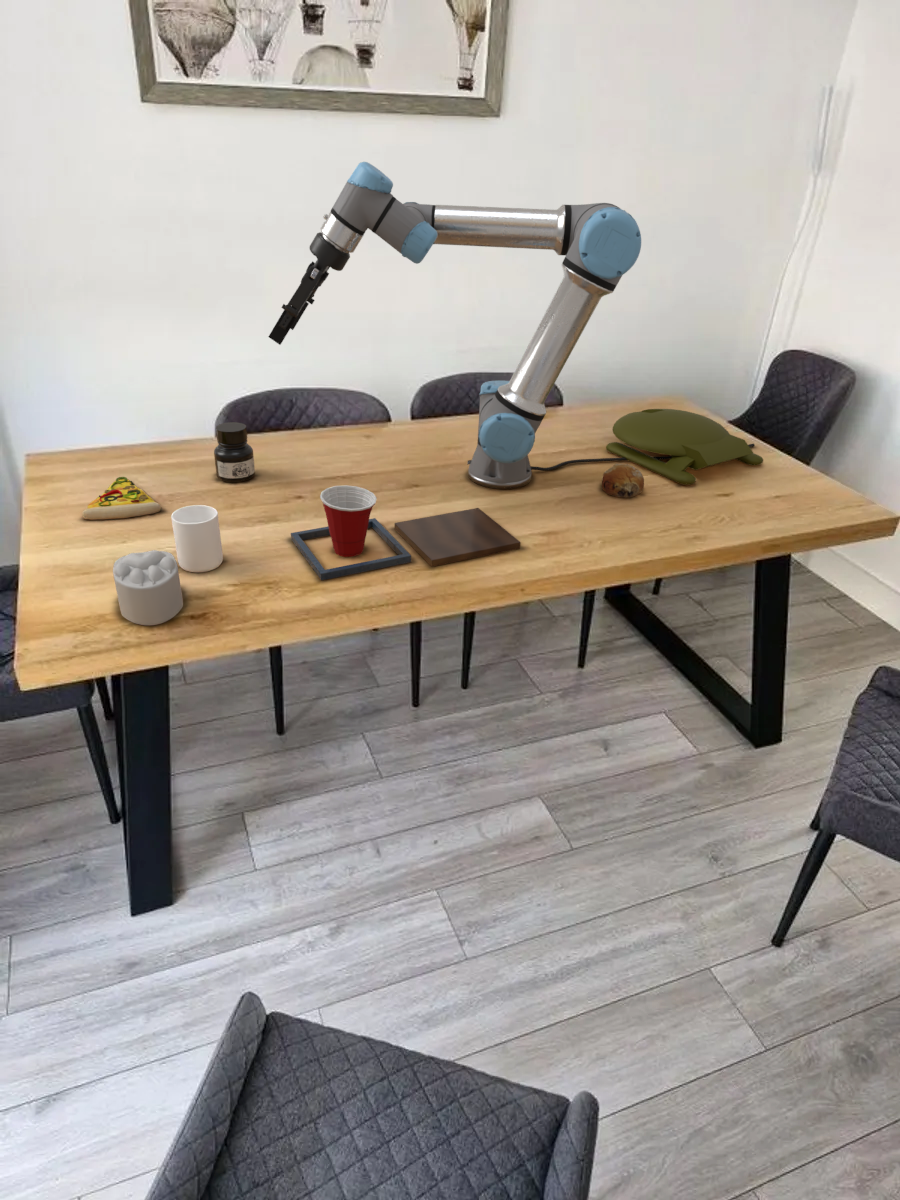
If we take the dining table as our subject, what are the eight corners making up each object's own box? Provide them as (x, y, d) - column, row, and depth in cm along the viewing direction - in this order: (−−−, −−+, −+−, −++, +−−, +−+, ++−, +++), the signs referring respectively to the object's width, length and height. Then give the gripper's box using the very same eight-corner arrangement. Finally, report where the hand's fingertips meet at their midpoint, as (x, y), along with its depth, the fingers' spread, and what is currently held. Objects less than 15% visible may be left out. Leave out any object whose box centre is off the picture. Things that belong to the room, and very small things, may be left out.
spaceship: (766, 465, 212) (775, 429, 207) (685, 489, 197) (692, 450, 192) (665, 426, 236) (671, 392, 231) (586, 444, 221) (590, 408, 216)
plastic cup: (368, 566, 158) (367, 509, 152) (314, 559, 159) (311, 503, 153) (383, 542, 167) (383, 487, 161) (332, 535, 169) (330, 481, 162)
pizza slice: (83, 523, 169) (80, 509, 168) (86, 484, 186) (83, 472, 184) (161, 515, 174) (159, 502, 172) (158, 478, 191) (156, 466, 189)
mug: (168, 550, 160) (160, 502, 155) (210, 542, 164) (204, 494, 159) (185, 577, 152) (177, 527, 146) (229, 567, 155) (223, 518, 150)
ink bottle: (218, 485, 188) (212, 435, 182) (211, 471, 195) (205, 423, 189) (260, 480, 192) (256, 430, 186) (252, 467, 199) (248, 418, 193)
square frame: (375, 524, 174) (375, 518, 173) (411, 562, 160) (411, 555, 159) (291, 539, 166) (290, 532, 166) (321, 580, 153) (321, 573, 152)
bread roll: (642, 503, 197) (650, 470, 196) (636, 500, 188) (644, 465, 187) (602, 495, 201) (610, 462, 200) (594, 491, 191) (602, 457, 190)
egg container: (179, 583, 150) (172, 541, 145) (186, 619, 139) (180, 575, 135) (118, 592, 146) (110, 549, 142) (122, 630, 136) (112, 584, 132)
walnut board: (477, 513, 180) (478, 507, 180) (520, 548, 167) (520, 541, 166) (394, 529, 172) (394, 522, 171) (431, 567, 159) (431, 560, 158)
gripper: (328, 223, 170) (277, 309, 179) (307, 238, 149) (251, 335, 157) (358, 246, 172) (307, 330, 181) (343, 264, 151) (285, 358, 160)
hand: (281, 333), depth 169 cm, fingers open, 13 cm apart
